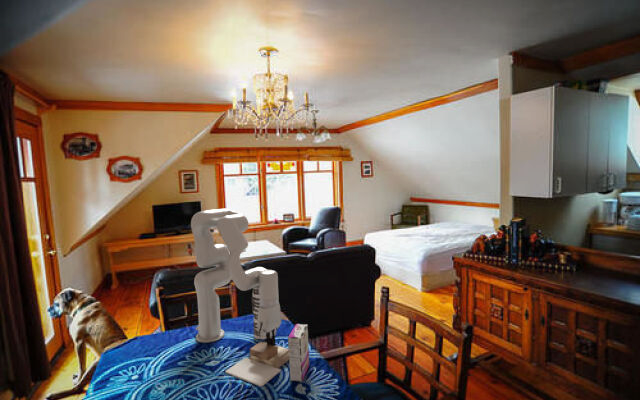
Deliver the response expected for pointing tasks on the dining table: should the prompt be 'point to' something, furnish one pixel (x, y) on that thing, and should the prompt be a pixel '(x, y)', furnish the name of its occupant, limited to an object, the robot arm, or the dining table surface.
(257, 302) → the decorative candle
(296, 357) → the candy bar box
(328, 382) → the dining table surface
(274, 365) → the birch stand
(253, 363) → the off-white mat
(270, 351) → the walnut tile
